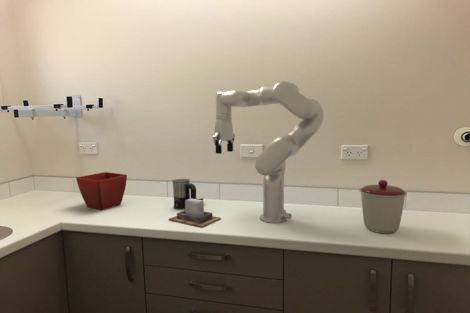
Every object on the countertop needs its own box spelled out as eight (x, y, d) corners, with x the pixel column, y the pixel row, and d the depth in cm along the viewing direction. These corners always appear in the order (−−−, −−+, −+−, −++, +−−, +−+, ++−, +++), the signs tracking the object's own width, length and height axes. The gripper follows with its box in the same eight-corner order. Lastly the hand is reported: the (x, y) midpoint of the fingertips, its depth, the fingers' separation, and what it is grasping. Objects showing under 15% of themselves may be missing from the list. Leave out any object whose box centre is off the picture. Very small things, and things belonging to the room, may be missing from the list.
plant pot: (100, 213, 172) (98, 180, 170) (77, 208, 182) (75, 177, 180) (129, 204, 188) (128, 174, 186) (107, 200, 198) (105, 172, 196)
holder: (220, 219, 159) (220, 212, 158) (201, 227, 147) (201, 220, 147) (188, 213, 170) (188, 206, 169) (168, 220, 158) (168, 213, 158)
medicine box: (204, 218, 158) (203, 200, 157) (198, 220, 154) (197, 202, 153) (191, 215, 162) (190, 198, 161) (185, 218, 159) (184, 200, 158)
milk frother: (170, 209, 178) (169, 181, 176) (182, 201, 193) (181, 176, 191) (195, 210, 174) (194, 182, 172) (205, 202, 189) (205, 176, 188)
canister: (410, 228, 143) (413, 179, 141) (397, 240, 130) (399, 186, 127) (367, 219, 155) (369, 174, 152) (351, 230, 142) (352, 180, 139)
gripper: (227, 117, 174) (228, 150, 176) (206, 117, 160) (207, 153, 162) (239, 117, 170) (240, 151, 172) (219, 117, 156) (220, 154, 158)
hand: (224, 152), depth 167 cm, fingers open, 9 cm apart
